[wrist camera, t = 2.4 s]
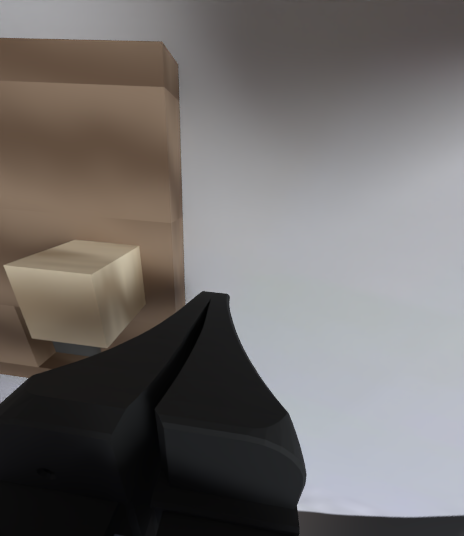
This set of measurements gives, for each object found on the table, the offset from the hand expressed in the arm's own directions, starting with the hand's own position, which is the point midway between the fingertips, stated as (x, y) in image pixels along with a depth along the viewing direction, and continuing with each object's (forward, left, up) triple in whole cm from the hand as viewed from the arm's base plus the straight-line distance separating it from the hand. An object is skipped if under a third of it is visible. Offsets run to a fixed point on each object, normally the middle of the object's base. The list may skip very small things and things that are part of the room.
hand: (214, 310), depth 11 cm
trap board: (0, +14, -5) cm, 15 cm away
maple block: (0, +7, -3) cm, 8 cm away
